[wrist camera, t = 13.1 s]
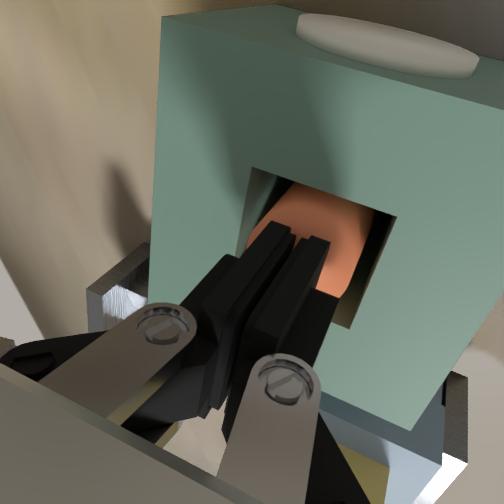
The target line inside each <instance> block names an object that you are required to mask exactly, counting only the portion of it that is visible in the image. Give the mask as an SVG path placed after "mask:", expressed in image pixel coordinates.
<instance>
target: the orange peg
mask: <svg viewBox="0 0 504 504" xmlns="http://www.w3.org/2000/svg"><path fill="white" fill-rule="evenodd" d="M377 212H378V210H376V209H373V208H371V207H368V206H365V205H362V204H359V203H356V202H353V201H350V200H347V199H345V198H342V197H339V196H336V195H333V194H330V193H327V192H324V191H321V190H319V189H316V188H313V187H310V186H307V185H304V184H301V183H298V182H294V183H293V185H292V186H291V187H290V188H289V189H288V190H287V191H286V193H285V194H284V195H283V196H282V197H281V198H280V199H279V201H278V202H277V203H276V204H275V205H274V206H273V207H272V209H271V210H270V211H269V212H268V213H267V214H266V216H265V217H264V218H263V219H262V220H261V221H260V222H259V224H258V225H257V226H256V227H255V228H254V229H253V231H252V232H251V234H250V236H249V238H248V242H247V247H246V249H247V248H248V247H249V246H250V245H251V243H252V242H253V241H254V240H255V239H256V238H257V236H258V235H259V234H260V233H261V232H262V230H263V229H264V228H265V227H266V226H267V224H268V223H269V222H270V221H271V220H273V221H275V222H278V223H281V224H283V225H286V226H289V227H291V232H290V233H292V234H295V235H296V240H295V244H294V247H293V249H294V248H295V246H296V245H297V243H298V242H299V240H300V239H301V238H302V237H303V238H306V239H309V237H310V236H311V235H313V236H316V237H319V238H321V239H324V240H327V241H329V242H331V244H330V248H329V251H328V254H327V257H326V260H325V263H324V266H323V269H322V272H321V274H320V277H319V280H318V283H317V286H316V289H318V290H320V291H323V292H325V293H328V294H330V295H333V296H335V297H338V298H339V297H340V296H341V295H342V294H343V293H344V292H345V290H346V289H347V287H348V285H349V282H350V280H351V277H352V275H353V272H354V270H355V267H356V265H357V262H358V260H359V257H360V255H361V252H362V250H363V247H364V245H365V242H366V240H367V237H368V235H369V232H370V230H371V227H372V225H373V222H374V220H375V217H376V215H377Z"/></svg>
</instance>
